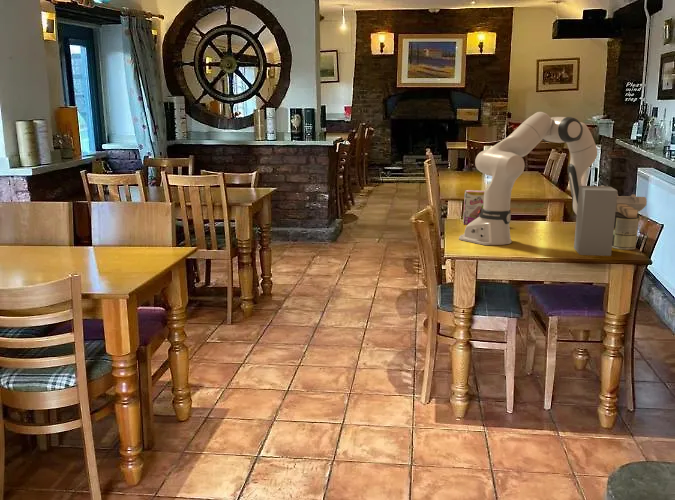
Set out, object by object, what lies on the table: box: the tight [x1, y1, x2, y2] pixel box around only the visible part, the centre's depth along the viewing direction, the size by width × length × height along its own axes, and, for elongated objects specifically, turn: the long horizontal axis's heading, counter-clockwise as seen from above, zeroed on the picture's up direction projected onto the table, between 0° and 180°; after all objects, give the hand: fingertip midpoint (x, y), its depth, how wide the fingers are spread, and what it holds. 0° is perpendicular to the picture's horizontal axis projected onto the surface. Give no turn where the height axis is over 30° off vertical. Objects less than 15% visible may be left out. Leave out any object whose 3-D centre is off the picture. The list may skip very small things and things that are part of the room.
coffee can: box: [612, 212, 640, 251], centre depth 278 cm, size 10×10×14 cm
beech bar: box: [616, 204, 639, 218], centre depth 277 cm, size 19×4×3 cm, turn 173°
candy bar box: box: [462, 189, 485, 226], centre depth 325 cm, size 11×5×16 cm, turn 84°
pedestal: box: [573, 185, 618, 257], centre depth 268 cm, size 12×12×26 cm
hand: (625, 195), depth 279 cm, fingers open, 5 cm apart
